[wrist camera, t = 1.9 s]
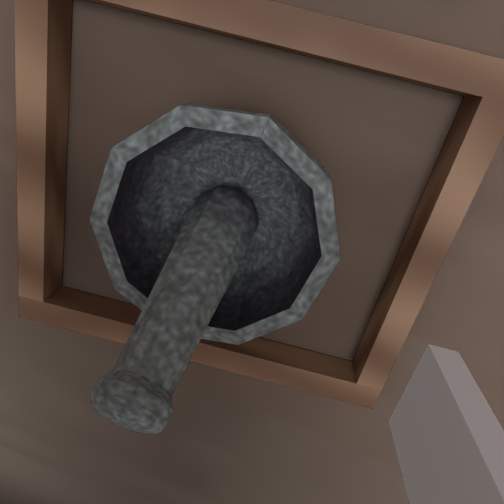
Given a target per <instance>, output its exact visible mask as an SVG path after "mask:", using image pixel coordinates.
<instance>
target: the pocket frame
mask: <svg viewBox="0 0 504 504" xmlns="http://www.w3.org/2000/svg"><path fill="white" fill-rule="evenodd" d="M87 1H91V2H95V3H99V4H103V5H107V6H111V7H115V8H119V9H123V10H127V11H131V12H135V13H139V14H143V15H147V16H151V17H154V18H158V19H162V20H166V21H170V22H174V23H178V24H182V25H186V26H190V27H194V28H198V29H202V30H206V31H210V32H214V33H218V34H222V35H225V36H229V37H233V38H237V39H241V40H245V41H249V42H253V43H257V44H261V45H265V46H269V47H273V48H277V49H281V50H285V51H289V52H293V53H297V54H300V55H304V56H308V57H312V58H316V59H320V60H324V61H328V62H332V63H336V64H340V65H344V66H348V67H352V68H356V69H360V70H364V71H368V72H371V73H375V74H379V75H383V76H387V77H391V78H395V79H399V80H403V81H407V82H411V83H415V84H419V85H423V86H427V87H431V88H435V89H439V90H442V91H446V92H450V93H454V94H458V95H462V96H464V98H463V100H462V103H461V105H460V108H459V110H458V112H457V115H456V117H455V119H454V122H453V124H452V127H451V129H450V131H449V134H448V136H447V138H446V141H445V143H444V145H443V148H442V150H441V153H440V155H439V157H438V160H437V162H436V164H435V167H434V169H433V172H432V174H431V176H430V179H429V181H428V183H427V186H426V188H425V190H424V193H423V195H422V198H421V200H420V202H419V205H418V207H417V209H416V212H415V214H414V217H413V219H412V221H411V224H410V226H409V228H408V231H407V233H406V236H405V238H404V240H403V243H402V245H401V247H400V250H399V252H398V254H397V257H396V259H395V262H394V264H393V266H392V269H391V271H390V273H389V276H388V278H387V281H386V283H385V285H384V288H383V290H382V292H381V295H380V297H379V300H378V302H377V304H376V307H375V309H374V311H373V314H372V316H371V318H370V321H369V323H368V326H367V328H366V330H365V333H364V335H363V337H362V340H361V342H360V345H359V347H358V349H357V352H356V354H355V356H354V359H353V361H348V360H344V359H340V358H336V357H332V356H329V355H325V354H321V353H317V352H313V351H309V350H305V349H302V348H298V347H294V346H290V345H286V344H282V343H279V342H275V341H271V340H267V339H263V338H259V337H257V338H254V339H252V340H249V341H247V342H244V343H242V344H239V345H236V344H230V343H224V342H218V341H213V340H207V339H200V341H199V343H198V345H197V347H196V349H195V351H194V353H193V355H192V357H191V359H190V361H191V362H195V363H199V364H203V365H207V366H210V367H214V368H218V369H222V370H226V371H230V372H233V373H237V374H241V375H245V376H249V377H253V378H256V379H260V380H264V381H268V382H272V383H276V384H279V385H283V386H287V387H291V388H295V389H298V390H302V391H306V392H310V393H314V394H318V395H321V396H325V397H329V398H333V399H337V400H341V401H344V402H348V403H352V404H356V405H360V406H364V407H367V408H371V409H373V407H374V405H375V403H376V401H377V399H378V396H379V394H380V392H381V390H382V388H383V386H384V384H385V382H386V380H387V378H388V376H389V373H390V371H391V369H392V367H393V365H394V363H395V361H396V359H397V357H398V355H399V353H400V350H401V348H402V346H403V344H404V342H405V340H406V338H407V336H408V334H409V332H410V330H411V327H412V325H413V323H414V321H415V319H416V317H417V315H418V313H419V311H420V309H421V307H422V304H423V302H424V300H425V298H426V296H427V294H428V292H429V290H430V288H431V286H432V284H433V281H434V279H435V277H436V275H437V273H438V271H439V269H440V267H441V265H442V263H443V261H444V258H445V256H446V254H447V252H448V250H449V248H450V246H451V244H452V242H453V240H454V238H455V235H456V233H457V231H458V229H459V227H460V225H461V223H462V221H463V219H464V217H465V214H466V212H467V210H468V208H469V206H470V204H471V202H472V200H473V198H474V196H475V194H476V191H477V189H478V187H479V185H480V183H481V181H482V179H483V177H484V175H485V173H486V171H487V168H488V166H489V164H490V162H491V160H492V158H493V156H494V154H495V152H496V150H497V148H498V145H499V143H500V141H501V139H502V137H503V135H504V59H500V58H496V57H492V56H488V55H484V54H480V53H476V52H472V51H469V50H465V49H461V48H457V47H453V46H449V45H445V44H441V43H437V42H433V41H429V40H425V39H421V38H417V37H413V36H409V35H405V34H401V33H397V32H393V31H389V30H385V29H381V28H377V27H373V26H369V25H366V24H362V23H358V22H354V21H350V20H346V19H342V18H338V17H334V16H330V15H326V14H322V13H318V12H314V11H310V10H306V9H302V8H298V7H294V6H290V5H286V4H282V3H278V2H274V1H270V0H87ZM72 7H73V0H15V72H16V145H17V218H18V292H19V317H23V318H26V319H30V320H34V321H38V322H42V323H46V324H49V325H53V326H57V327H61V328H65V329H69V330H72V331H76V332H80V333H84V334H88V335H92V336H95V337H99V338H103V339H107V340H111V341H115V342H118V343H122V344H126V342H127V340H128V338H129V336H130V334H131V332H132V330H133V328H134V326H135V324H136V322H137V320H138V318H139V316H140V314H141V310H140V309H139V308H138V307H136V306H135V305H132V304H129V303H125V302H121V301H117V300H113V299H109V298H106V297H102V296H98V295H94V294H90V293H86V292H82V291H79V290H75V289H71V288H67V287H63V286H62V269H63V243H64V217H65V191H66V164H67V138H68V112H69V85H70V59H71V33H72Z"/></svg>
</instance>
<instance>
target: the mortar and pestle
mask: <svg viewBox="0 0 504 504" xmlns="http://www.w3.org/2000/svg"><path fill="white" fill-rule="evenodd" d="M89 220H90V223H91V226H92V229H93V232H94V234H95V237H96V240H97V243H98V245H99V248H100V251H101V254H102V257H103V259H104V262H105V265H106V268H107V271H108V273H109V276H110V279H111V282H112V285H113V287H114V289H116V290H117V291H118V292H119V293H120V294H122V295H123V296H124V297H125V298H127V299H128V300H129V301H130V302H132V303H133V304H134V305H135V306H136V307H138V308H139V309H140V310H141V314H140V316H139V318H138V320H137V322H136V324H135V326H134V328H133V330H132V332H131V334H130V336H129V338H128V340H127V342H126V344H125V346H124V348H123V350H122V353H121V355H120V357H119V359H118V361H117V363H116V365H115V367H114V369H113V370H112V371H110V372H109V373H107V374H106V375H104V376H103V377H101V378H99V380H98V382H97V384H96V385H95V387H94V389H93V391H92V394H91V403H92V405H93V407H94V408H95V409H96V410H97V411H98V412H99V413H100V414H101V415H103V416H104V417H105V418H107V419H108V420H110V421H112V422H113V423H115V424H117V425H119V426H121V427H124V428H127V429H130V430H133V431H136V432H142V433H150V434H155V433H159V432H161V431H162V430H163V429H164V428H165V426H166V425H167V423H168V421H169V419H170V417H171V414H172V412H173V404H172V394H173V392H174V390H175V388H176V386H177V384H178V382H179V380H180V378H181V377H182V375H183V373H184V371H185V369H186V367H187V365H188V363H189V361H190V359H191V357H192V355H193V353H194V351H195V349H196V347H197V345H198V343H199V341H200V339H207V340H213V341H218V342H224V343H230V344H236V345H239V344H242V343H244V342H247V341H249V340H252V339H254V338H257V337H259V336H262V335H264V334H267V333H269V332H272V331H274V330H277V329H279V328H282V327H284V326H287V325H290V324H292V323H295V322H297V321H300V320H302V319H303V318H304V316H305V315H306V313H307V311H308V310H309V308H310V307H311V305H312V303H313V302H314V300H315V299H316V297H317V295H318V294H319V292H320V291H321V289H322V288H323V286H324V284H325V283H326V281H327V280H328V278H329V276H330V275H331V273H332V272H333V270H334V269H335V267H336V265H337V264H338V262H339V261H340V251H339V242H338V234H337V225H336V217H335V208H334V199H333V191H332V182H331V178H330V175H329V173H328V172H327V171H326V170H325V169H324V168H323V167H322V166H321V165H320V164H319V163H318V161H317V160H316V159H315V158H314V157H313V156H312V155H311V154H310V153H309V152H308V151H307V150H306V149H305V148H304V147H303V146H302V145H301V144H300V143H299V142H298V141H297V140H296V139H295V138H294V137H293V136H292V135H291V134H290V133H289V132H288V131H287V130H286V129H285V128H284V127H283V126H282V125H281V124H280V123H279V122H278V121H277V120H276V119H275V118H274V117H273V116H272V115H270V114H263V113H256V112H249V111H242V110H235V109H227V108H220V107H213V106H206V105H199V104H192V103H189V104H182V105H179V106H178V107H176V108H174V109H173V110H171V111H170V112H168V113H166V114H165V115H163V116H162V117H160V118H158V119H157V120H155V121H154V122H152V123H150V124H149V125H147V126H145V127H144V128H142V129H141V130H139V131H137V132H136V133H134V134H133V135H131V136H129V137H128V138H126V139H125V140H123V141H121V142H120V143H118V144H117V145H115V146H113V147H112V148H111V150H110V153H109V156H108V160H107V163H106V166H105V170H104V173H103V176H102V179H101V183H100V186H99V189H98V192H97V196H96V199H95V202H94V206H93V209H92V212H91V215H90V219H89Z"/></svg>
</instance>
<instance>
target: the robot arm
mask: <svg viewBox="0 0 504 504" xmlns="http://www.w3.org/2000/svg"><path fill="white" fill-rule="evenodd" d="M389 425H390V429H391V433H392V437H393V441H394V445H395V449H396V453H397V457H398V461H399V465H400V469H401V473H402V477H403V481H404V485H405V489H406V493H407V497H408V501H409V504H504V431H503V429H502V427H501V425H500V424H499V422H498V420H497V418H496V417H495V415H494V413H493V411H492V410H491V408H490V406H489V404H488V403H487V401H486V399H485V398H484V396H483V394H482V392H481V391H480V389H479V387H478V385H477V384H476V382H475V380H474V378H473V377H472V375H471V373H470V371H469V370H468V368H467V366H466V364H465V363H464V361H463V359H462V358H461V356H460V354H459V352H457V351H453V350H449V349H445V348H441V347H438V346H434V345H430V344H428V346H427V348H426V350H425V352H424V354H423V356H422V358H421V360H420V362H419V364H418V366H417V367H416V369H415V371H414V373H413V375H412V377H411V379H410V381H409V383H408V385H407V387H406V389H405V390H404V392H403V394H402V396H401V398H400V400H399V402H398V404H397V406H396V408H395V410H394V411H393V413H392V415H391V417H390V419H389Z"/></svg>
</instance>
